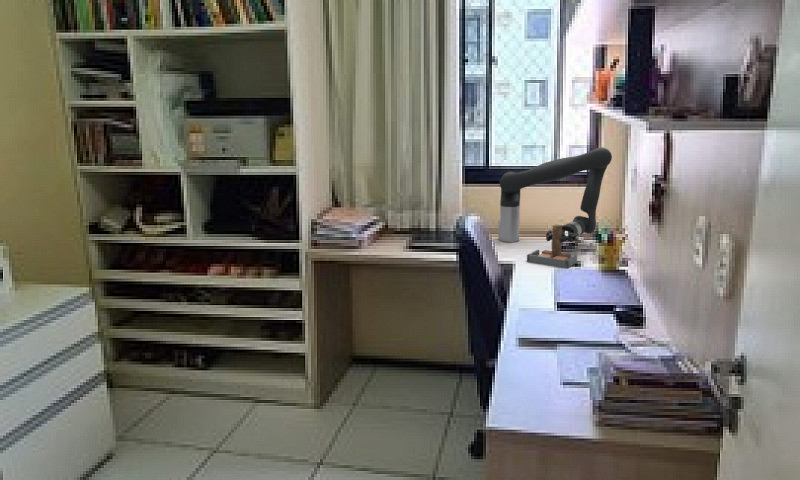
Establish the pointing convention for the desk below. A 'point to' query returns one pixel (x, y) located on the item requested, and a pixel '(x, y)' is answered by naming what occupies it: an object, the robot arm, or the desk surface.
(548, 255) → the tile
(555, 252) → the wooden peg stand
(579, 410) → the desk surface
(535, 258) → the box
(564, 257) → the tile
